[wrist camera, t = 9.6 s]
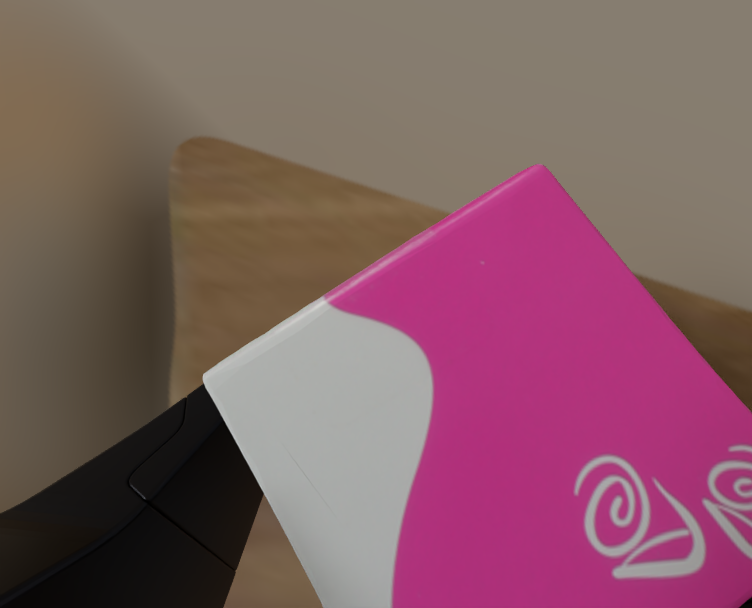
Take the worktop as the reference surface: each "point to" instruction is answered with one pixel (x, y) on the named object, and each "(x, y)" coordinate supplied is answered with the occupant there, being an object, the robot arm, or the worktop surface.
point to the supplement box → (497, 426)
